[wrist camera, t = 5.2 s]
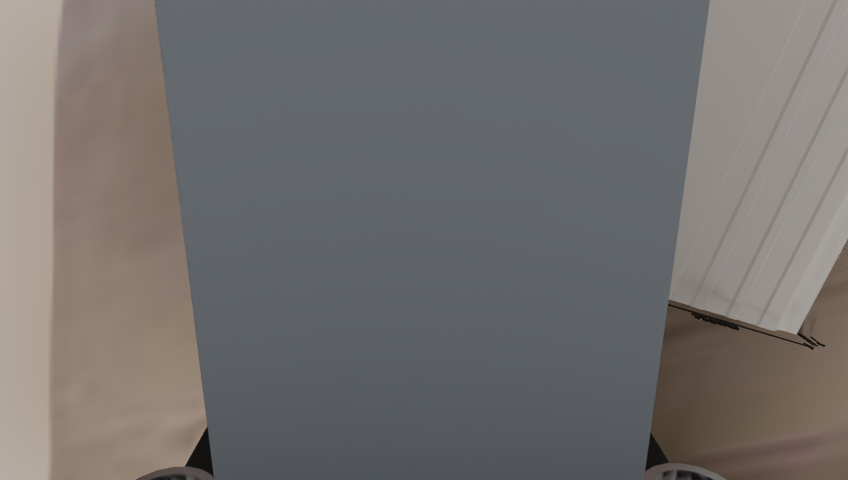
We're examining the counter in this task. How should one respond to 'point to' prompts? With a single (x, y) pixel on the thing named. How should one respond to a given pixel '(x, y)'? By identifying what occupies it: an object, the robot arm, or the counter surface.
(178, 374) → the counter surface
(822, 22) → the baseboard molding
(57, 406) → the counter surface
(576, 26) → the slate slat
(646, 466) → the robot arm
